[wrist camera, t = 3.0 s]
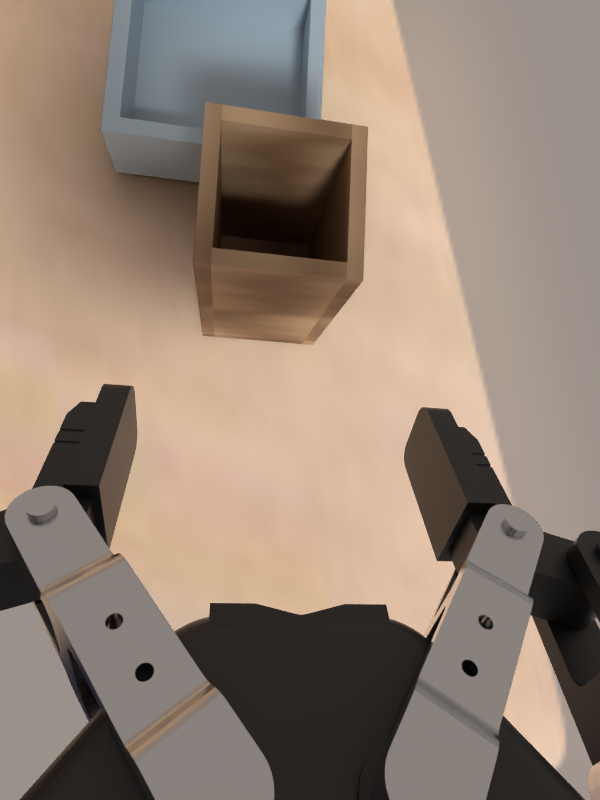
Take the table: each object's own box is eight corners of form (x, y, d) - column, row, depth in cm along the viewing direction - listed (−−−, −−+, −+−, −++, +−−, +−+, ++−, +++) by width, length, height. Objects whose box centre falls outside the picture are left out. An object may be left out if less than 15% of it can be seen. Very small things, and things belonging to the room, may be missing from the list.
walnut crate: (203, 335, 27) (192, 262, 17) (210, 230, 28) (205, 102, 18) (312, 344, 28) (363, 280, 18) (317, 242, 28) (367, 126, 19)
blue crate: (115, 171, 27) (100, 129, 24) (133, -1, 29) (121, -64, 25) (307, 196, 29) (318, 160, 25) (315, 32, 30) (327, -23, 27)
